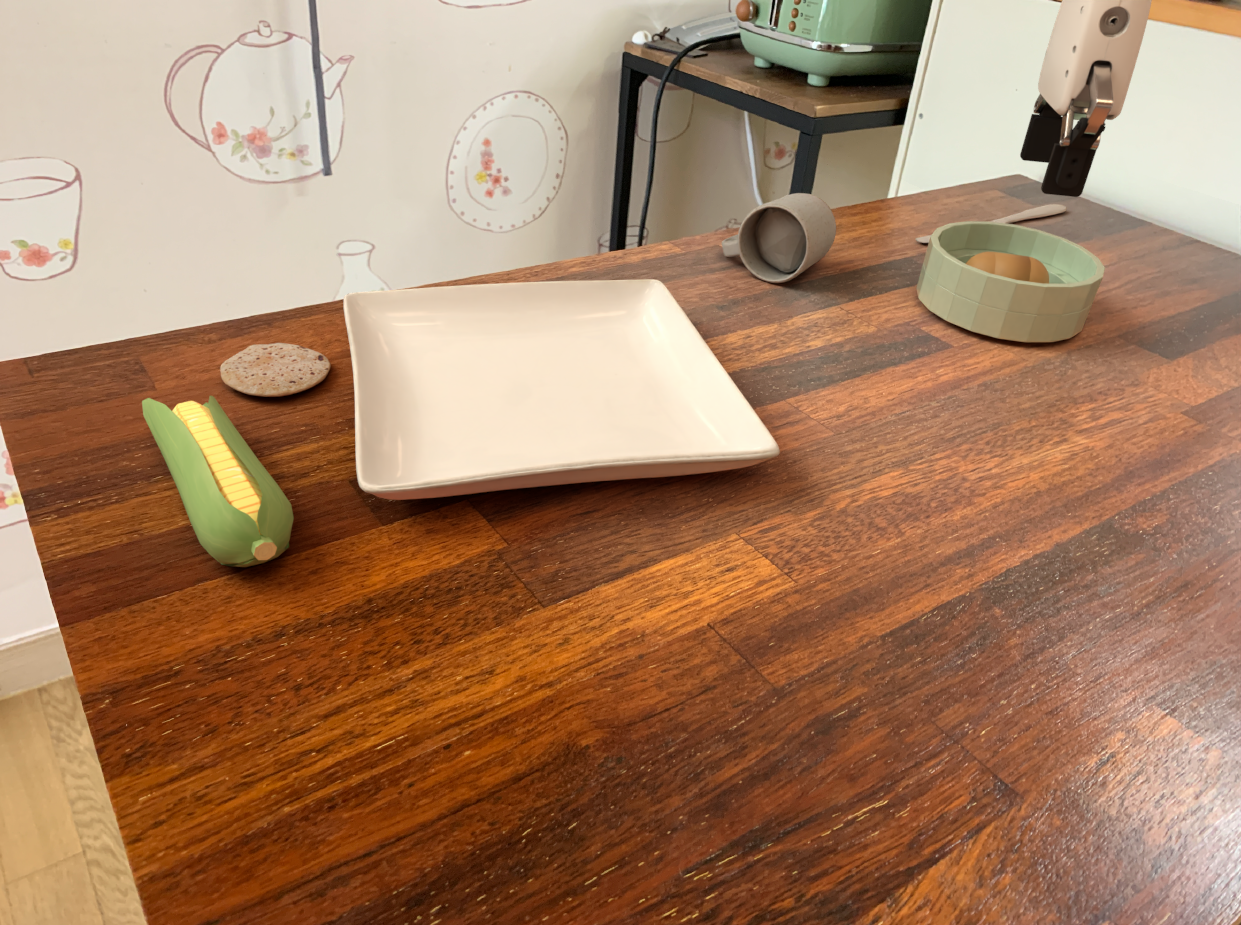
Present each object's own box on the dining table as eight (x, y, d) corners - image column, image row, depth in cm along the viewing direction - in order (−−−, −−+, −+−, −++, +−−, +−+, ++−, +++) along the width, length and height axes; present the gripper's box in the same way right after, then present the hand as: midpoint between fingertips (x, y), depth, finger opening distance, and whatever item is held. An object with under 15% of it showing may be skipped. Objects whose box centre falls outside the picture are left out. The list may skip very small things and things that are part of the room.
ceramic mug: (833, 267, 95) (848, 193, 91) (801, 293, 90) (815, 215, 85) (741, 242, 100) (751, 170, 95) (704, 264, 94) (713, 189, 90)
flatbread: (350, 377, 71) (349, 365, 70) (261, 413, 66) (259, 401, 65) (288, 340, 75) (286, 328, 74) (199, 371, 70) (197, 360, 69)
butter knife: (1077, 209, 114) (1056, 200, 116) (929, 246, 101) (909, 235, 103) (1075, 214, 115) (1055, 205, 116) (927, 251, 102) (907, 240, 104)
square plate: (363, 539, 56) (357, 487, 54) (346, 330, 77) (341, 287, 75) (777, 491, 63) (787, 443, 61) (657, 312, 84) (661, 271, 82)
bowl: (1061, 289, 95) (1082, 233, 92) (1098, 359, 83) (1124, 297, 79) (909, 268, 97) (924, 212, 93) (922, 334, 84) (940, 272, 81)
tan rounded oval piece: (1034, 303, 91) (1048, 254, 89) (1046, 316, 87) (1062, 266, 85) (950, 292, 92) (963, 243, 90) (959, 305, 88) (972, 254, 86)
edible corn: (223, 602, 51) (208, 538, 48) (137, 426, 64) (121, 368, 61) (316, 570, 53) (307, 508, 51) (215, 408, 66) (203, 351, 64)
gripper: (1205, -25, 65) (1118, 214, 75) (1135, -50, 79) (1070, 153, 89) (1092, -33, 66) (1022, 204, 75) (1043, -57, 80) (989, 146, 90)
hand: (1048, 176), depth 82 cm, fingers open, 9 cm apart
